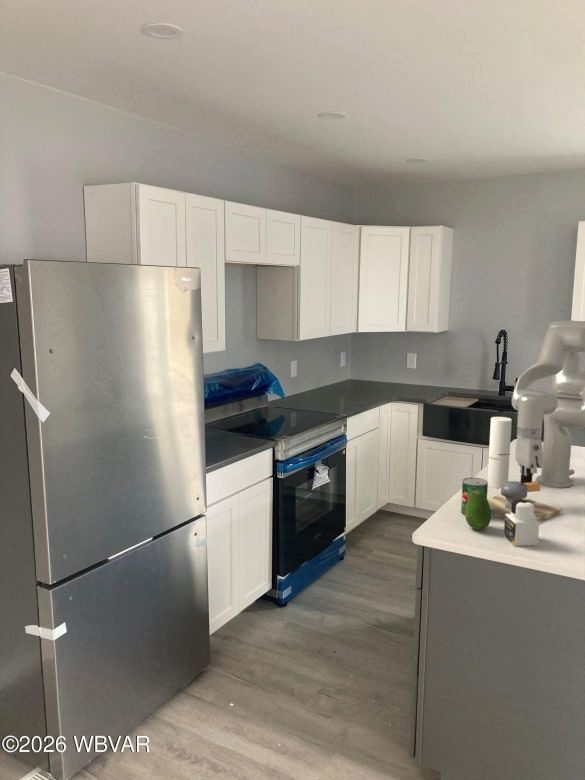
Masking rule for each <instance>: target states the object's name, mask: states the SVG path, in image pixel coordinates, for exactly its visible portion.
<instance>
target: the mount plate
mask: <svg viewBox="0 0 585 780" xmlns="http://www.w3.org/2000/svg"><path fill="white" fill-rule="evenodd" d="M523 499H524V500H528V501H530V502H532V503H533V504H534V514H533V518H535V519H536V520H537V521H538V522H539V523H540V522H542V521H544V520H547V519H550V518H553V517H556V516H559V515H561V513H562V509H560V508H558V507H554V506H552V505H548V504H546V503H542V502H539V501H536V500H533V499H530V498H527V497H526V498H523ZM487 500H488V502H489V505H490V508H491V515H495V516H498V517H500V518H503V519H505V514H511V506H512V502H513V501H514V500H517V499H513V498H508V497H505V496H503V495H501V494H498V495H496V496H491V497H489V498H488V497H487ZM558 514H559V515H558Z"/></svg>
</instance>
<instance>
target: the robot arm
mask: <svg viewBox="0 0 585 780" xmlns="http://www.w3.org/2000/svg"><path fill="white" fill-rule="evenodd" d="M544 335H545V336H544V340H543V342H542V345H541V349H540V353H539V356H538V358H537V361H536V362H535V363H534V364H532V365H531V366H529V367H528V368H527V369H526V370H524V371H523V372H522V373H521V374H520V375H519V377H518V379H517V380H516V382H515V385H514V386H515V387H514V389H513V392H512V395H511V407H513V409H514V410H515V411H517V426H516V437H517V438H516V443H515V454H514V459H515V461H516V462H517V465H518V466H519V469H520V470H519V471H520V472H519V473H520V481H519V482H521V483H530V482H533V476H534V474H537V473H538V469H541V473H540V475H537V477H536V478H535V479H536V481H535V482H538V483H540V485H543V486H546V487H550V488H561V489H562V488H569V487H572V486H573V485H574V481H573V479H571V478H570V476H572V475H574V474H575V472H576V471H575V470H574V469H573V468H572V469H570V464H571V453H572V443H573V442H572V435H571V432H570V430H569V429H568V428H567V427H571V428H572V427H573V428H577V429H578V428H579V429H585V371H584V370H580V366H581V358H582V357H581V355H580V353H585V321H584V320H566V319H565V320H563V319H562V320H554V321H552V322H551V323H550V324H549V326H548V330H547V331H546V333H545V334H544ZM549 377H551V390H552V392H550V391H545V390H537V389H528V388H529V386H530V385H531V384H533V383H535V382H537V381H539V380H542V379H546V378H549ZM557 395H558V396H559V395H560V396H566V397H574V398H581V399H582V400H576V399H575V400H573V399H566V398H558V396H557ZM542 435H543V440H542ZM537 468H538V469H537Z"/></svg>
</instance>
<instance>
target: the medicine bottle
mask: <svg viewBox="0 0 585 780" xmlns="http://www.w3.org/2000/svg"><path fill="white" fill-rule="evenodd" d="M533 514H534V504H533V503H532V502H530V501H528V500H524V499H517V500H514V501H513V502H512V506H511V514H505V518H504V528H503V529H504V531H503V536H504V538H505V539H506V540H507V541H508V542H509V543H510V544H511V545H512V546H514V547H524V546H525V547H528V546H529V547H530V546H538V544H539V531H540V530H539V529H540V521H539V522H538V521H537V520H536V519H535V518H533Z"/></svg>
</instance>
